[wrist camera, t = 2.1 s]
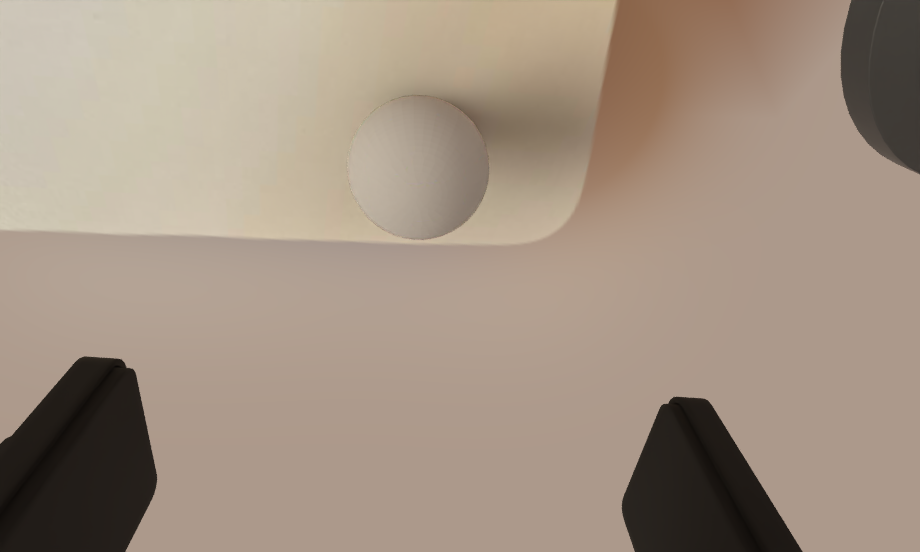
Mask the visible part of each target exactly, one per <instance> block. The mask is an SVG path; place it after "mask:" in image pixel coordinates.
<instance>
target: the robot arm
mask: <svg viewBox="0 0 920 552" xmlns="http://www.w3.org/2000/svg"><path fill="white" fill-rule="evenodd" d="M156 483H157V474H156V469H155V464H154V459H153V455H152V450H151V445H150V440H149V435H148V431H147V425H146V421H145V416H144V411H143V406H142V401H141V397H140V392H139V387H138V382H137V377H136V373H135V371H134V370H133V369H130V368H126V365H125V363H124V362H123V361H122V360H121V359H114V358H98V357H82V358H79V359H78V360H77V361H76V362H75V363H74V364H73V366H72V367H71V368H70V369H69V370H68V371H67V372H66V374H65V375H64V376H63V377H62V378H61V379H60V381H59V382H58V383H57V384H56V385H55V386H54V387H53V389H52V390H51V391H50V392H49V393H48V394H47V396H46V397H45V398H44V399H43V400H42V401H41V403H40V404H39V405H38V406H37V407H36V408H35V409H34V411H33V412H32V413H31V414H30V415H29V417H28V418H27V419H26V420H25V421H24V422H23V424H21V426H20V427H19V428H18V429H17V430H16V431H15V433H14V434H13V435H12V436H11V437H8V438H6V439H5V440H4V441H3V442H2V443H1V444H0V552H125V551H126V549H127V547H128V545H129V543H130V541H131V539H132V537H133V535H134V533H135V531H136V529H137V527H138V525H139V524H140V522H141V519H142V518H143V516H144V514H145V512H146V510H147V508H148V506H149V504H150V501H151V500H152V497H153V495H154V492H155V489H156ZM622 513H623V517H624V521H625V524H626V527H627V530H628V533H629V536H630V539H631V541H632V544H633V548H634V550H635V552H802V550H801V549H800V547H799V545H798V544H797V542H796V540H795V539H794V537H793V536H792V534H791V532H790V531H789V529H788V528H787V526H786V524H785V523H784V521H783V520H782V518H781V516H780V515H779V513H778V512H777V510H776V508H775V507H774V505H773V503H772V502H771V500H770V498H769V497H768V495H767V494H766V492H765V490H764V489H763V487H762V486H761V484H760V482H759V481H758V479H757V477H756V476H755V475H754V473H753V471H752V470H751V468H750V466H749V465H748V463H747V461H746V460H745V458H744V456H743V455H742V453H741V452H740V450H739V449H738V447H737V445H736V444H735V442H734V440H733V439H732V437H731V436H730V434H729V432H728V431H727V429H726V427H725V426H724V424H723V423H722V421H721V419H720V418H719V416H718V415H717V413H716V411H715V410H714V408H713V406H712V405H711V404H710V402H709V401H708V400H706V399H701V398H686V397H673V398H672V399H671V400H670V401H669V403H668V404H663V405H662V406H661V407H660V409H659V412H658V414H657V416H656V419H655V422H654V424H653V427H652V429H651V431H650V433H649V436H648V439H647V441H646V443H645V446H644V448H643V451H642V453H641V455H640V458H639V461H638V463H637V465H636V468H635V470H634V472H633V475H632V477H631V480H630V482H629V485H628V487H627V490H626V492H625V494H624V497H623V501H622Z"/></svg>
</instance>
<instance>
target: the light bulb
mask: <svg viewBox="0 0 920 552" xmlns="http://www.w3.org/2000/svg"><path fill="white" fill-rule="evenodd" d="M347 170H348V179H349V184H350V188H351V191H352V193H353V196H354V198H355V200H356V202H357V204H358V205H359V207H360V209H361V210H362V211H363V212H364V214H365V215H366V216H367V217H368V218H369V219H370V220H371V221H372V222H373V223H374V224H375V225H377V226H378V227H380V228H381V229H383V230H385V231H387V232H389V233H391V234H393V235H396V236H399V237H402V238H407V239H418V240H423V239H432V238H436V237H440V236H443V235H445V234H447V233H450V232H452V231H453V230H455V229H457V228H458V227H460V226H461V225H462V224H463V223H465V222H466V221H467V220H468V219H469V218H470V217H471V216H472V215H473V213H474V212H475V211H476V209H477V208H478V206H479V205H480V203H481V201H482V199H483V196H484V194H485V191H486V188H487V184H488V178H489V159H488V153H487V149H486V145H485V143H484V140H483V138H482V136H481V134H480V132H479V130H478V129H477V127H476V126H475V124H474V123H473V122H472V121H471V120H470V119H469V117H468V116H467V115H466V114H465V113H463V112H462V111H461V110H460V109H458V108H457V107H455V106H454V105H452V104H450V103H448V102H446V101H443V100H441V99H438V98H434V97H430V96H421V95H412V96H404V97H400V98H397V99H394V100H391V101H389V102H387V103H385V104H383V105H381V106H380V107H378V108H377V109H375V110H374V111H373V112H372V113H371V114H370V115H369V116H368V117H367V118H366V119H365V120H364V121H363V122H362V124H361V125H360V126H359V128H358V129H357V131H356V133H355V135H354V137H353V139H352V142H351V146H350V149H349V153H348V162H347Z"/></svg>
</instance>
